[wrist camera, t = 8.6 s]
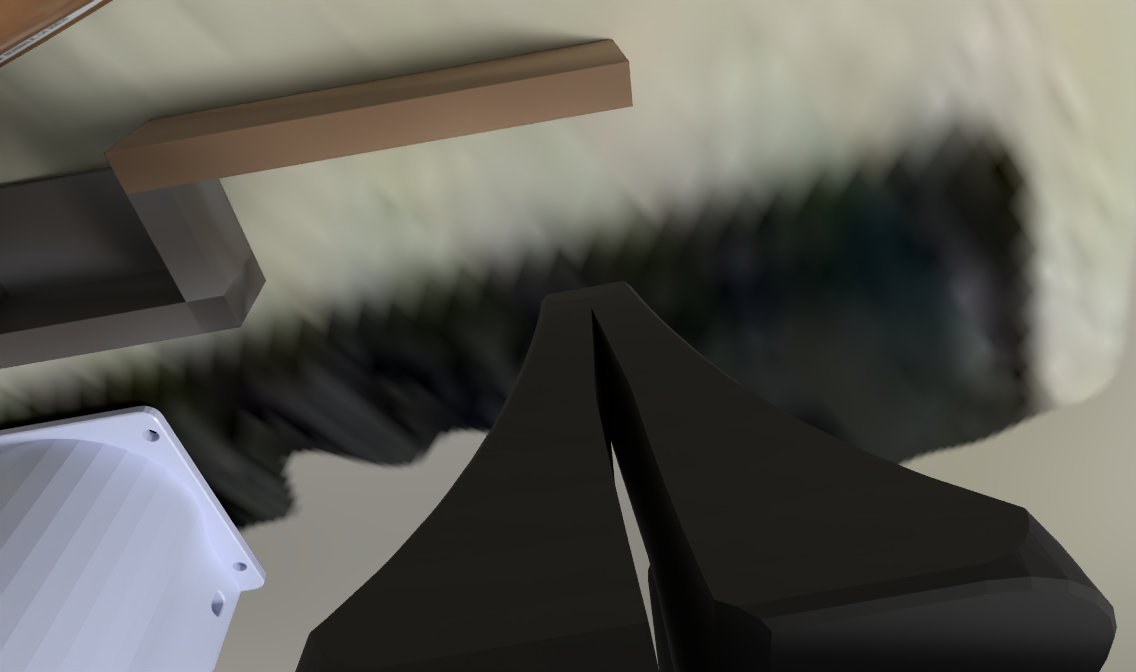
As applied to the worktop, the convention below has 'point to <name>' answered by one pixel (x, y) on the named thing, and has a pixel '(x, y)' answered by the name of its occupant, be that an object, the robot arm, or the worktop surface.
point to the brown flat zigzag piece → (203, 212)
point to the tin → (37, 22)
